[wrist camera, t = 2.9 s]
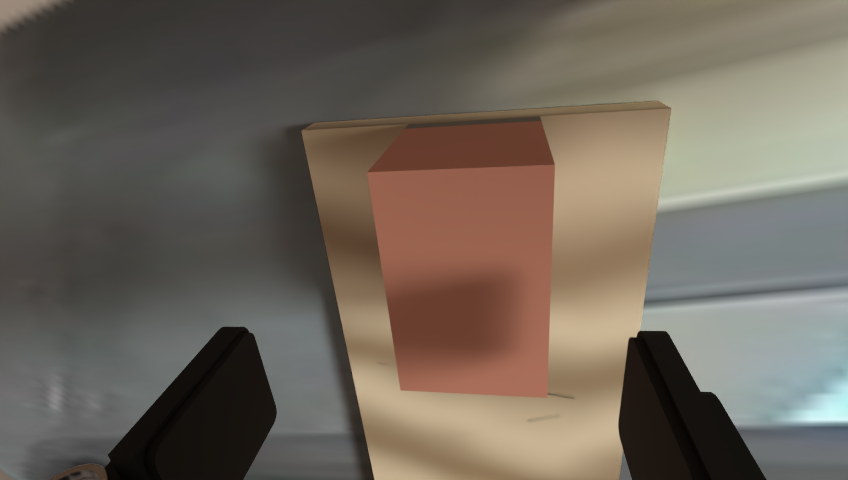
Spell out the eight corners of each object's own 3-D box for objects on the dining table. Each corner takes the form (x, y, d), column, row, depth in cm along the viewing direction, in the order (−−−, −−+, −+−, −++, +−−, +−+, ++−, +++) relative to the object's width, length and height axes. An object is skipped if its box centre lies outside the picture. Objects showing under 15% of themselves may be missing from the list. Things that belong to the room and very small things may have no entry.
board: (314, 122, 20) (301, 130, 19) (658, 100, 17) (671, 108, 16) (385, 484, 30) (379, 506, 29) (606, 504, 28) (611, 529, 27)
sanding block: (408, 124, 18) (367, 172, 13) (539, 116, 17) (555, 164, 12) (426, 295, 21) (400, 390, 16) (536, 297, 20) (547, 397, 15)
